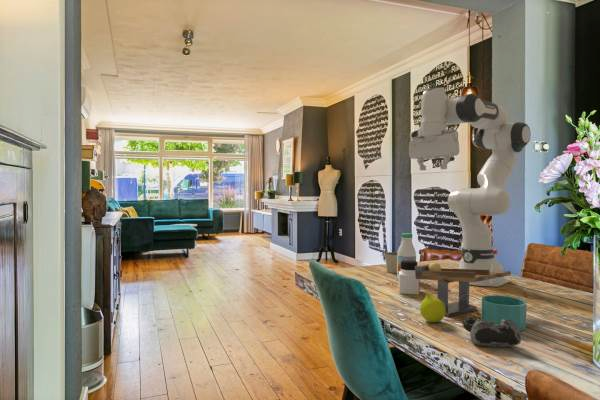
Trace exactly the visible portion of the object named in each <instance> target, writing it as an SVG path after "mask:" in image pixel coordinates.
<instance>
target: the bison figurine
mask: <svg viewBox="0 0 600 400" xmlns="http://www.w3.org/2000/svg"><path fill="white" fill-rule="evenodd" d="M461 323H462V327H463V328H464V329H465V330H466V331H467V332H469V335H470V338H471V343H472V344H474V345H477V346H482V347H492V348H505V347H506V348H507V347H513V346H518V345H520V344H521V342H522V331H520V330H519V328H518V327H517V326H516V325H515V324H514V322H513V321H511V320H510V319H503V320H501V324H496V323H494V322H493V321H488V320H483V319H482V318H481V319H480V318H477V319H476V320H475V318H474V317H473V318H472V316H469V315H467V316H466V317H465V318H464V320H463V319H461Z"/></svg>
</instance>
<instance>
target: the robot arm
mask: <svg viewBox="0 0 600 400" xmlns="http://www.w3.org/2000/svg"><path fill="white" fill-rule="evenodd" d="M420 114H421V121H420V127H418V128H417V129H415V130H413V131H412V132H410V133H409V138H410V141H409V145H408V156H409V158H410V159H412V160H413V159H414V160H417V161H416V162H417V164H418V166H419V171H427V170H426V169H427V168H426V167H427V166H426V165H425V163H424V161H425V159H428V158H429V159H433V158H442V160H443V161H442V163H441V164H440V170H447V169H448V164H449V162H450V160H451V157H454V156H455V157H456V156H458V155H460V142H459V141H460V140H459V132H458V130H456V129H454V128H451V129H447V126H451V125H458V124H465V123H469V124H470V126H471V127H473V128H476V129H477V131H476V133H475V137H474V138H475V143H476V145H477V146H478V148H479V149H483V150H493V152H492V154H491V155H490V156H489V157H488V159H486V161H485V163H484V164H483V165H482V167H481V169H480V171H479V172H478V174H477V176H476V177H477V183H478V185H479V186H480V187H477V188H467V187H466V188H459V189H456V190H455V189H454V190H453V191H451V192H450V194H449V195H448V197H447V206H448V208H449V209H450V211H451V212H453V214H454V215H455V216H456V217H457V219H458V221H459V223H460V226H461V230H462V231H461V233H462V247H461V253H460V254H461V259H459V264H458V265H459V266H458V269H482V270H489V271H490V272H492V271H505V269H504V266H503V265H502V264H500V263H499V262H498V260H496V259H495V255H498V253H499V251H498V249H497V248H496V249H494V248H492V246H493V245H492V241H493V236H492V235H493V233H492V229H491V228H490V227H489V226H487V224H485V223H484V222H483V221H482V219H481V216H489V217H490V216H491V217H492V216H493V217H494V216H499V215H501V216H502V215H504V214H506V213H507V212H508V210H509V209H510V206H511V203H512V202H511V197H510V195H509V193H508V192H507V191H505V189H504V187H505V185H506V183H507V180H509V178H510V175H511V174H512V172H513V169H514V167H515V164H516V160H517V157H516V153H520V152H521V151H522V150H523V149H524V148H525V147H526V146H527V145H528V143H529V142H530V141H531V135H532V134H531V128H530V126H529V125H528V124H527V123H524V122H517V121H516V122H507V121H508V119H509V113H508V110H507V108H506V107H504V106H502V105H501V104H498V103H495V102H490V101H487V100H484V99H482V97H480V96H479V95H477V94H476V93H468V94H465V95H462V96H457V97H451V98H450V97H449V96H448V95H447V94H446V89H445V87H443V86H435V87H430V88H426V89H425V90H424V91H423V92H422V96H421V105H420ZM510 282H511V278H508V277H506V276H503V277H498V278H493V279H488V280H483V281H478V282H469V286H470V285H471V286H477V287H496V288H497V287H500V286H503V285H505V284H508V283H510Z"/></svg>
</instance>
